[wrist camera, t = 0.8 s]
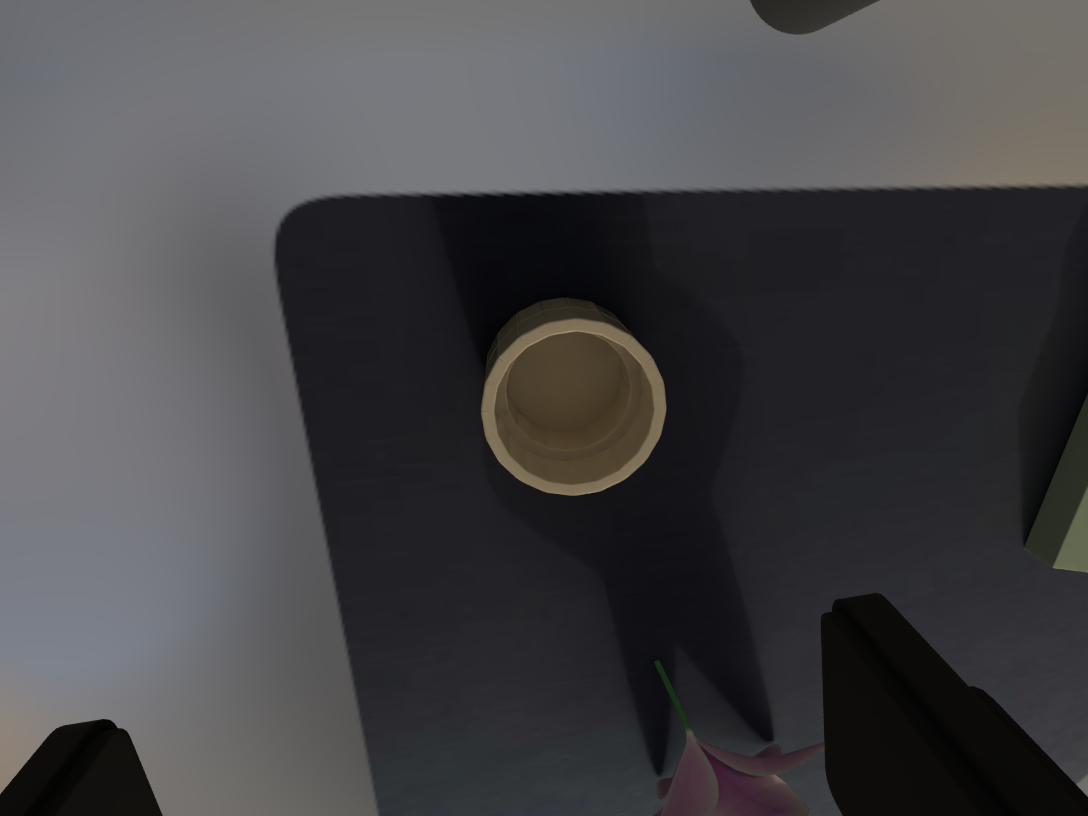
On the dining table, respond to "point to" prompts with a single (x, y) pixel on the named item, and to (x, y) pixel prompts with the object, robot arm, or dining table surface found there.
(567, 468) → the tan faceted cup
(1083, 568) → the scale
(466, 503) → the dining table surface
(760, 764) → the lily
